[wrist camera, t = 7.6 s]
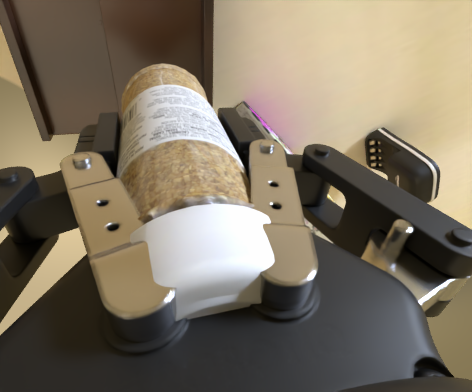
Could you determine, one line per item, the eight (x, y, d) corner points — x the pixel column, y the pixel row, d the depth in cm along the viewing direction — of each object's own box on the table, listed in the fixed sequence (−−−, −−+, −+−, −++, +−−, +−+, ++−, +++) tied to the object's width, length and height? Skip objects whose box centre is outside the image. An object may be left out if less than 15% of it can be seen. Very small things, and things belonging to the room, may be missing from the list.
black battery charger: (358, 135, 44) (413, 178, 35) (382, 124, 44) (444, 164, 35) (362, 170, 49) (411, 216, 40) (383, 160, 49) (438, 204, 40)
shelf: (-1, -52, 24) (-67, -57, 16) (191, -38, 27) (214, -37, 19) (53, 119, 32) (28, 169, 24) (194, 112, 36) (212, 155, 28)
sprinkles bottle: (177, 155, 18) (231, 402, 8) (104, 115, 16) (50, 399, 6) (223, 94, 17) (361, 304, 7) (150, 39, 14) (192, 238, 4)
